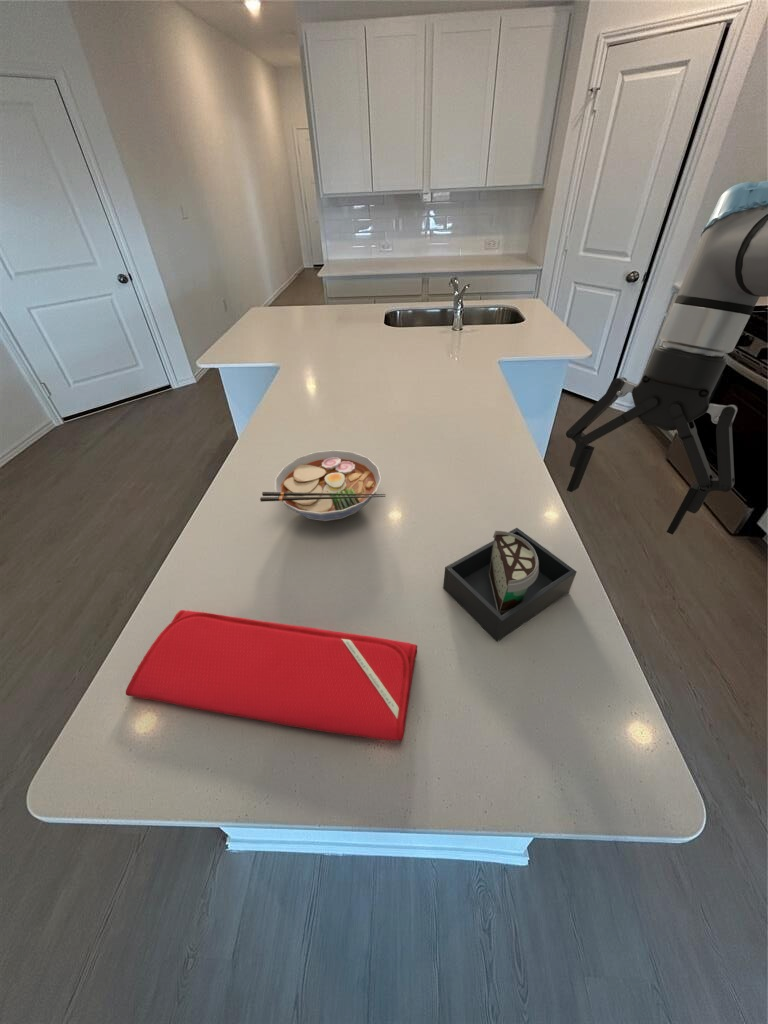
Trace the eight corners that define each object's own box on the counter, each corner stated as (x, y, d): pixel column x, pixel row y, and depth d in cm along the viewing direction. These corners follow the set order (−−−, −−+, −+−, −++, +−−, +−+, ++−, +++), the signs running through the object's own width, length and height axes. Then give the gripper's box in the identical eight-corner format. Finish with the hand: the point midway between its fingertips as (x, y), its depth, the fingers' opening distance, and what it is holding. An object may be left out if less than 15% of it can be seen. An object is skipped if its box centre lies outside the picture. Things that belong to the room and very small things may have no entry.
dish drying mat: (184, 613, 77) (177, 599, 74) (417, 648, 70) (418, 635, 68) (128, 699, 65) (117, 687, 62) (402, 752, 58) (402, 740, 56)
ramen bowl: (388, 475, 107) (387, 446, 101) (385, 540, 89) (384, 510, 84) (286, 475, 108) (280, 446, 102) (264, 540, 90) (255, 510, 85)
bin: (568, 592, 78) (577, 571, 74) (496, 641, 71) (502, 621, 67) (512, 548, 87) (516, 527, 83) (442, 588, 79) (444, 566, 76)
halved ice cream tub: (537, 623, 73) (550, 583, 66) (500, 623, 73) (509, 583, 66) (520, 567, 82) (530, 528, 75) (487, 567, 82) (494, 528, 76)
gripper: (829, 374, 47) (725, 541, 57) (597, 329, 60) (547, 469, 71) (830, 379, 41) (716, 561, 52) (576, 328, 55) (526, 479, 65)
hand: (619, 508), depth 61 cm, fingers open, 13 cm apart
